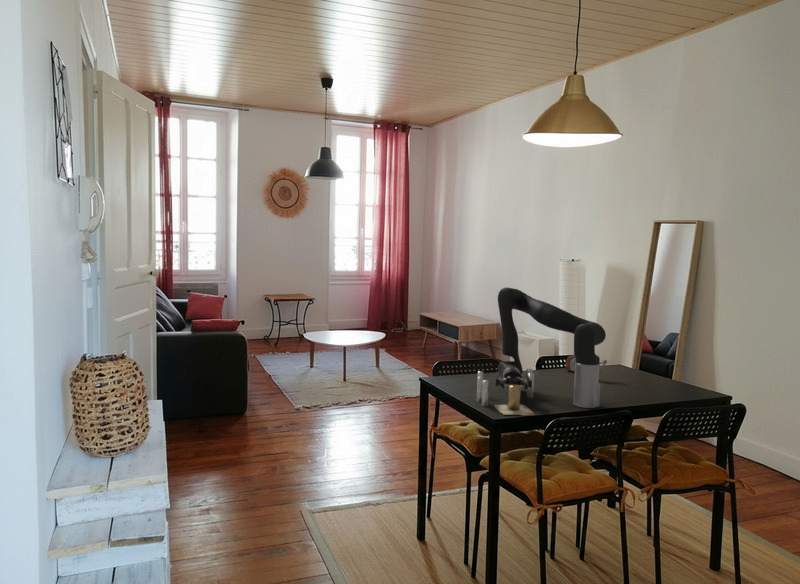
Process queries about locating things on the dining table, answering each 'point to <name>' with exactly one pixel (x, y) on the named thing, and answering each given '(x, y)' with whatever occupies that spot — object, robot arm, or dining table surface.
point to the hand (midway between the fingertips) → (514, 386)
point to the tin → (570, 363)
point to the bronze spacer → (514, 397)
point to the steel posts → (484, 386)
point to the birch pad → (506, 411)
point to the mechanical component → (603, 364)
